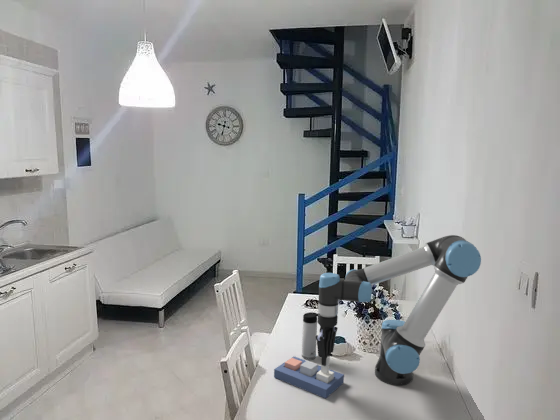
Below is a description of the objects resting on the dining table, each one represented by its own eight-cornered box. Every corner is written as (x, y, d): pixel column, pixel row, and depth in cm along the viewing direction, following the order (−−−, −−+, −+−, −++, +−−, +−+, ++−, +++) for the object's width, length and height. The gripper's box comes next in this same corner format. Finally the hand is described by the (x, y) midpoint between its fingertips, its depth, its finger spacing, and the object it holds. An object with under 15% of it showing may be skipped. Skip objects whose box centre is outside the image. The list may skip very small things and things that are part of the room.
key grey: (317, 372, 171) (317, 364, 171) (310, 377, 167) (311, 369, 167) (306, 368, 174) (307, 360, 174) (300, 373, 170) (300, 365, 170)
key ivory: (333, 380, 167) (334, 372, 167) (327, 386, 163) (327, 377, 163) (322, 376, 170) (323, 368, 169) (316, 381, 166) (316, 373, 165)
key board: (343, 382, 170) (343, 374, 169) (325, 398, 159) (326, 389, 158) (293, 364, 184) (293, 356, 183) (274, 377, 173) (274, 369, 172)
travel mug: (315, 360, 187) (317, 316, 185) (300, 358, 188) (302, 315, 186) (317, 354, 193) (319, 311, 191) (302, 352, 195) (304, 310, 192)
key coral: (301, 369, 176) (301, 361, 175) (294, 374, 172) (295, 366, 171) (291, 365, 179) (291, 357, 178) (284, 370, 175) (284, 362, 174)
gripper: (327, 306, 170) (325, 362, 173) (310, 316, 160) (307, 375, 163) (344, 311, 166) (341, 368, 169) (327, 321, 155) (324, 382, 159)
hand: (324, 372), depth 166 cm, fingers closed
